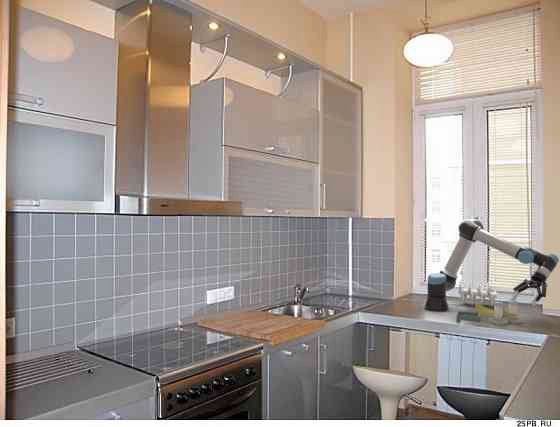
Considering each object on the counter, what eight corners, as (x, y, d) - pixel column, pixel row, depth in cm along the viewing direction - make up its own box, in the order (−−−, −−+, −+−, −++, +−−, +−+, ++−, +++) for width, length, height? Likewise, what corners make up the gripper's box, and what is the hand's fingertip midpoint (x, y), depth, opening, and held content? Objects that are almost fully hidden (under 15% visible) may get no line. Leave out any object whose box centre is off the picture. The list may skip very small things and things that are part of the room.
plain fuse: (493, 321, 262) (493, 301, 263) (502, 322, 261) (503, 301, 261) (493, 323, 258) (494, 302, 258) (503, 324, 256) (503, 303, 256)
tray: (457, 317, 280) (457, 310, 280) (479, 319, 275) (479, 312, 275) (456, 321, 269) (456, 314, 269) (479, 323, 264) (479, 316, 264)
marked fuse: (507, 320, 266) (507, 300, 267) (516, 321, 265) (517, 300, 265) (508, 322, 262) (508, 301, 262) (517, 323, 260) (517, 302, 260)
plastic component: (511, 315, 278) (502, 309, 274) (506, 326, 277) (497, 320, 272) (482, 306, 295) (474, 301, 291) (478, 317, 294) (469, 312, 290)
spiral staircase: (495, 314, 311) (456, 308, 321) (496, 299, 325) (458, 294, 335) (497, 291, 303) (457, 286, 314) (498, 277, 318) (459, 273, 328)
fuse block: (511, 322, 269) (511, 316, 269) (525, 325, 261) (525, 319, 261) (486, 324, 262) (486, 318, 262) (498, 328, 253) (498, 322, 253)
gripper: (563, 282, 260) (544, 310, 254) (525, 277, 283) (507, 302, 277) (557, 273, 258) (538, 302, 252) (519, 269, 281) (501, 294, 275)
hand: (522, 302), depth 265 cm, fingers open, 13 cm apart
